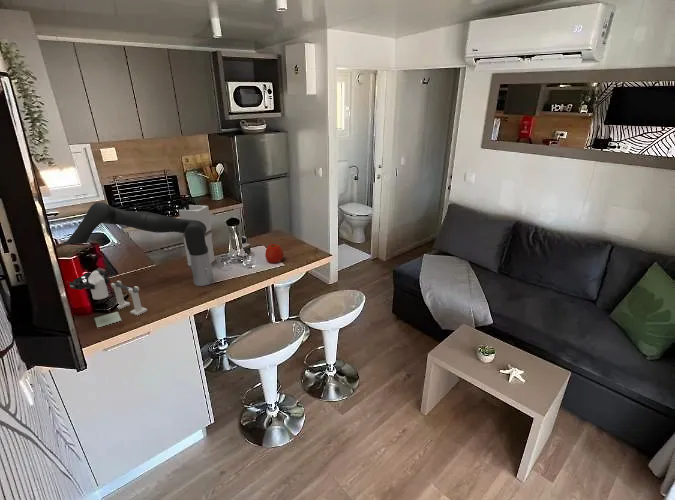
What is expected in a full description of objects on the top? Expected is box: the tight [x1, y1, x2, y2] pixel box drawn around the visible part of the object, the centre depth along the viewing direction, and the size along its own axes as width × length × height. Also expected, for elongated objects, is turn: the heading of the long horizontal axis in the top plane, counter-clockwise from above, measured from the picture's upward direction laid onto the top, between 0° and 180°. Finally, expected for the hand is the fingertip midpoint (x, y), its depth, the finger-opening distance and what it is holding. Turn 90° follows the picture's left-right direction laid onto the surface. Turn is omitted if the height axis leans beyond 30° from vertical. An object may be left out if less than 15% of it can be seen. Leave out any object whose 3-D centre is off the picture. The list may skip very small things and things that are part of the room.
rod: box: [113, 282, 139, 293], centre depth 161 cm, size 16×1×1 cm, turn 64°
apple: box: [264, 243, 284, 264], centre depth 215 cm, size 11×11×11 cm
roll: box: [88, 270, 110, 300], centre depth 150 cm, size 6×12×6 cm
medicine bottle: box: [242, 236, 252, 255], centre depth 222 cm, size 7×7×12 cm
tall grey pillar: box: [178, 204, 217, 270], centre depth 203 cm, size 11×11×35 cm
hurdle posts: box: [110, 280, 148, 317], centre depth 163 cm, size 17×5×12 cm, turn 64°
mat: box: [94, 311, 123, 329], centre depth 156 cm, size 9×9×1 cm
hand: (101, 284), depth 149 cm, fingers closed on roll, 5 cm apart
